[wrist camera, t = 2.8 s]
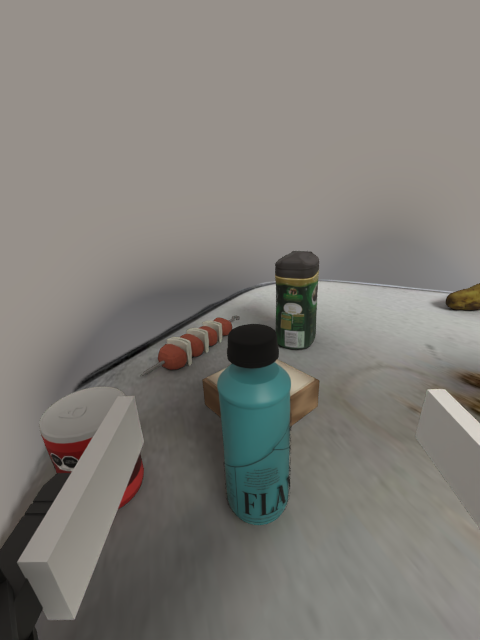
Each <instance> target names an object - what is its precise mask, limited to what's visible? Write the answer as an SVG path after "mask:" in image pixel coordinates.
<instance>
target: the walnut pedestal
mask: <svg viewBox="0 0 480 640" xmlns="http://www.w3.org/2000/svg"><path fill="white" fill-rule="evenodd" d="M275 363H277V364H278V365H279V366H281V367H282V368H283V369H284V370H285V371H286V372H287V373H288V374H289V376H290V379H291V390H290V399H291V400H292V401H291V400H290V415H291V414H292V416H291V417H292V418H290V421H291V420H292V422H290V424H291V425H293V424H295V423H296V422H297V421H299V420H300V419H301V418H303V417H304V416H305V415H307V414H308V413H309V412H311V411H312V410H313V409H315V408H316V407H317V406H318V392H319V380H317V379H315V378H313V377H311V376H309V375H307V374H305V373H303V372H301V371H299V370H297V369H295V368H293V367H291V366H290V365H288V364H286V363H284V362H282V361H280V360H278V359H277V360H276V361H275ZM225 369H226V368H225ZM225 369H223V370H221V371H219V372H217V373H215V374H213V375H211V376H209V377H207V378H205V379H203V380H202V381H203V389H204V398H205V405H206V406H208V407H209V408H210V409H211V410H212V411H213V412H215V413H216V414H217V415H218V416H219V417H221V411H220V401H219V392H218V389H217V381H218V378H219V376H220V374H221V373H222V372H223V371H224V370H225ZM291 425H290V427H291Z"/></svg>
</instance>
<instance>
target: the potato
mask: <svg viewBox="0 0 480 640" xmlns="http://www.w3.org/2000/svg"><path fill="white" fill-rule="evenodd" d="M446 305H447V306H448V307H450V308H451V309H455V310H460V309H463V310H477V309H480V283H479V284H476V285H474V286H472V287H470V288H468V289H463V290H460V291H456V292H453V293H451V294H449V295H448V296H447V298H446Z"/></svg>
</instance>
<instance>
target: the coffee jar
mask: <svg viewBox="0 0 480 640" xmlns="http://www.w3.org/2000/svg"><path fill="white" fill-rule="evenodd" d="M275 266H276V268H275V278H276V334H277V343H278V345H280V346H283V347H285V348H288V349H294V350H296V349H306V348H308V347H309V346H310V345H311V344H312V342H313V340H314V338H315V334H316V310H317V290H318V273H319V259H318V257H317V256H316V255H314V254H313V253H312V252H305V251H293V252H291V253H290V254H288V255H285V256H284V257H282V258H281V259H279V260H278V261H277V262H276V264H275Z"/></svg>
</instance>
